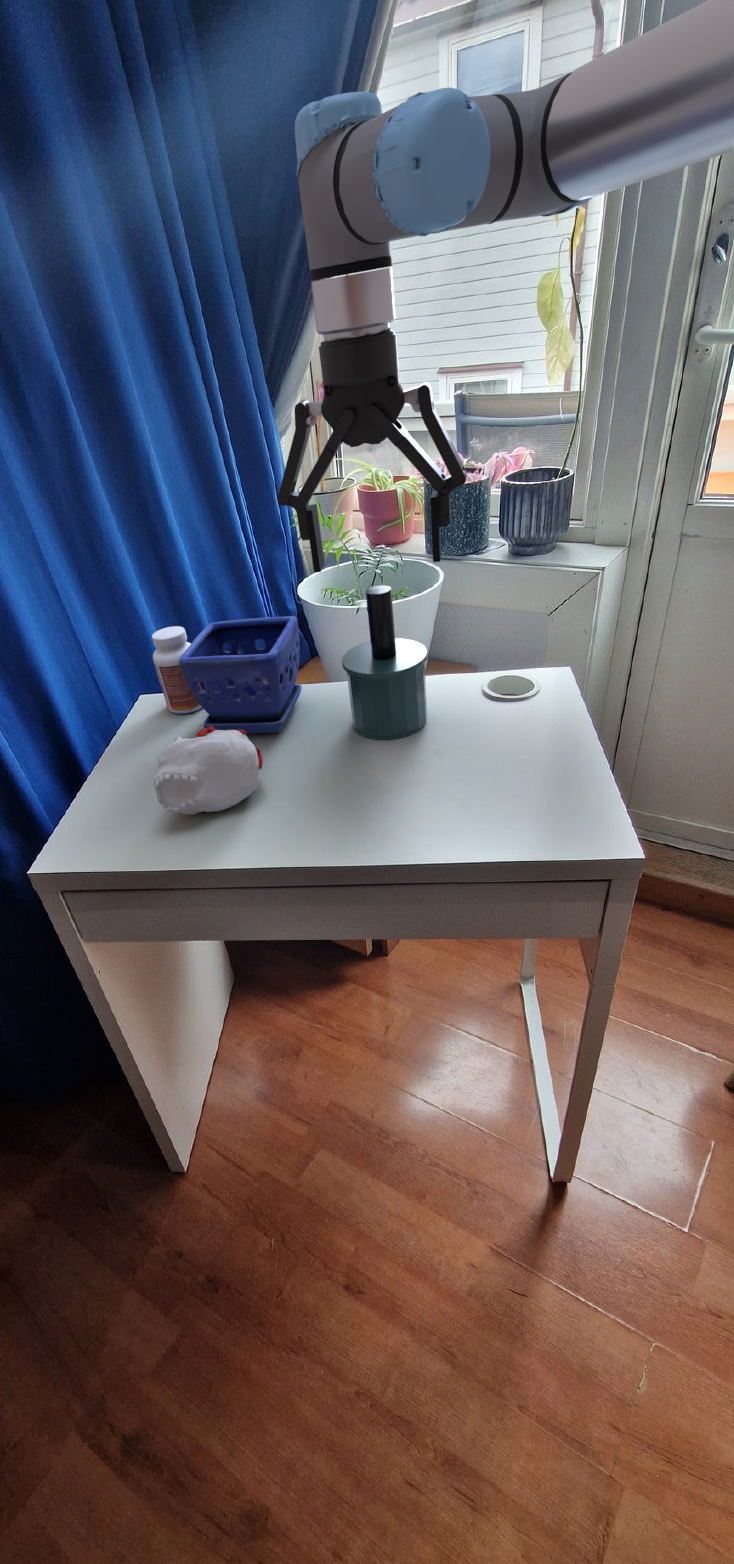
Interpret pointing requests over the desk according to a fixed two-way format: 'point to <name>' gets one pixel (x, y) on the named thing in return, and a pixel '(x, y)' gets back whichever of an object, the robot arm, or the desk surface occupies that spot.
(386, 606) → the lid
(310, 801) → the desk surface
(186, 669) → the flower pot
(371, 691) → the pot
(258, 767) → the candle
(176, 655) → the pill bottle
